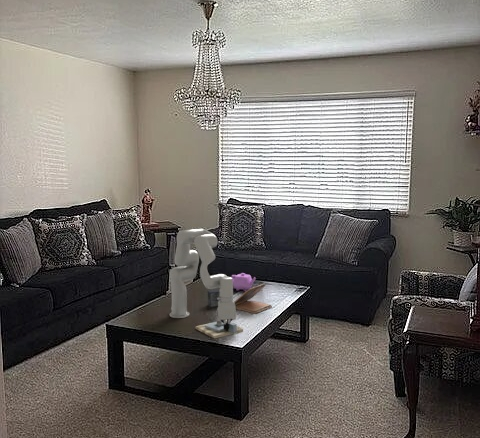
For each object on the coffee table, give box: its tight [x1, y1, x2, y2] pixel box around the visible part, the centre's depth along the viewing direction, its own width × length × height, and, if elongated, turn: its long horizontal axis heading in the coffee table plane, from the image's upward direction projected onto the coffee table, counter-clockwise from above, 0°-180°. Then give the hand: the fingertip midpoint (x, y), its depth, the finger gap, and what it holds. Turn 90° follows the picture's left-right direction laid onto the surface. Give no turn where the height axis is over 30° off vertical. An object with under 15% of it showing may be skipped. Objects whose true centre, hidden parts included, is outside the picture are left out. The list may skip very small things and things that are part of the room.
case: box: [234, 283, 273, 314], centre depth 344 cm, size 20×21×16 cm
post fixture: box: [195, 320, 244, 339], centre depth 300 cm, size 20×20×7 cm
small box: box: [207, 289, 220, 308], centre depth 349 cm, size 11×6×10 cm, turn 109°
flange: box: [205, 320, 238, 334], centre depth 298 cm, size 19×12×4 cm, turn 46°
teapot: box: [230, 272, 257, 292], centre depth 390 cm, size 20×12×13 cm, turn 69°
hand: (226, 330), depth 291 cm, fingers closed
